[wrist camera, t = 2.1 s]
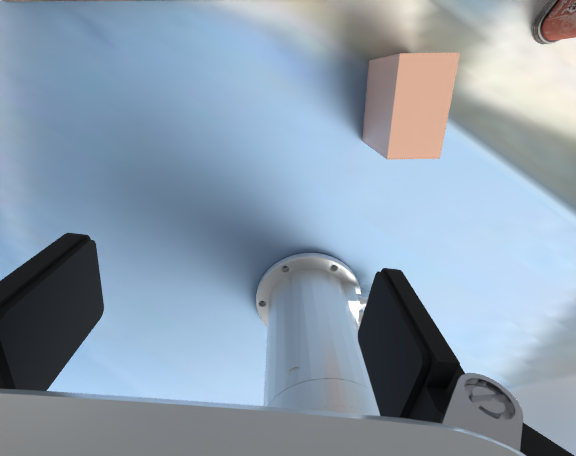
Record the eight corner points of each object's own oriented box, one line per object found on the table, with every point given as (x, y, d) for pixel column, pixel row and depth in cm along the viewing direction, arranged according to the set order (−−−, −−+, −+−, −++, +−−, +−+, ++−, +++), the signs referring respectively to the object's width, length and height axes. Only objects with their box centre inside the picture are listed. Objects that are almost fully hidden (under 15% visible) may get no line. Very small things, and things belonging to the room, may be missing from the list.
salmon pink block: (413, 60, 28) (460, 52, 21) (402, 140, 31) (439, 158, 24) (368, 60, 28) (399, 53, 21) (362, 141, 31) (387, 159, 24)
